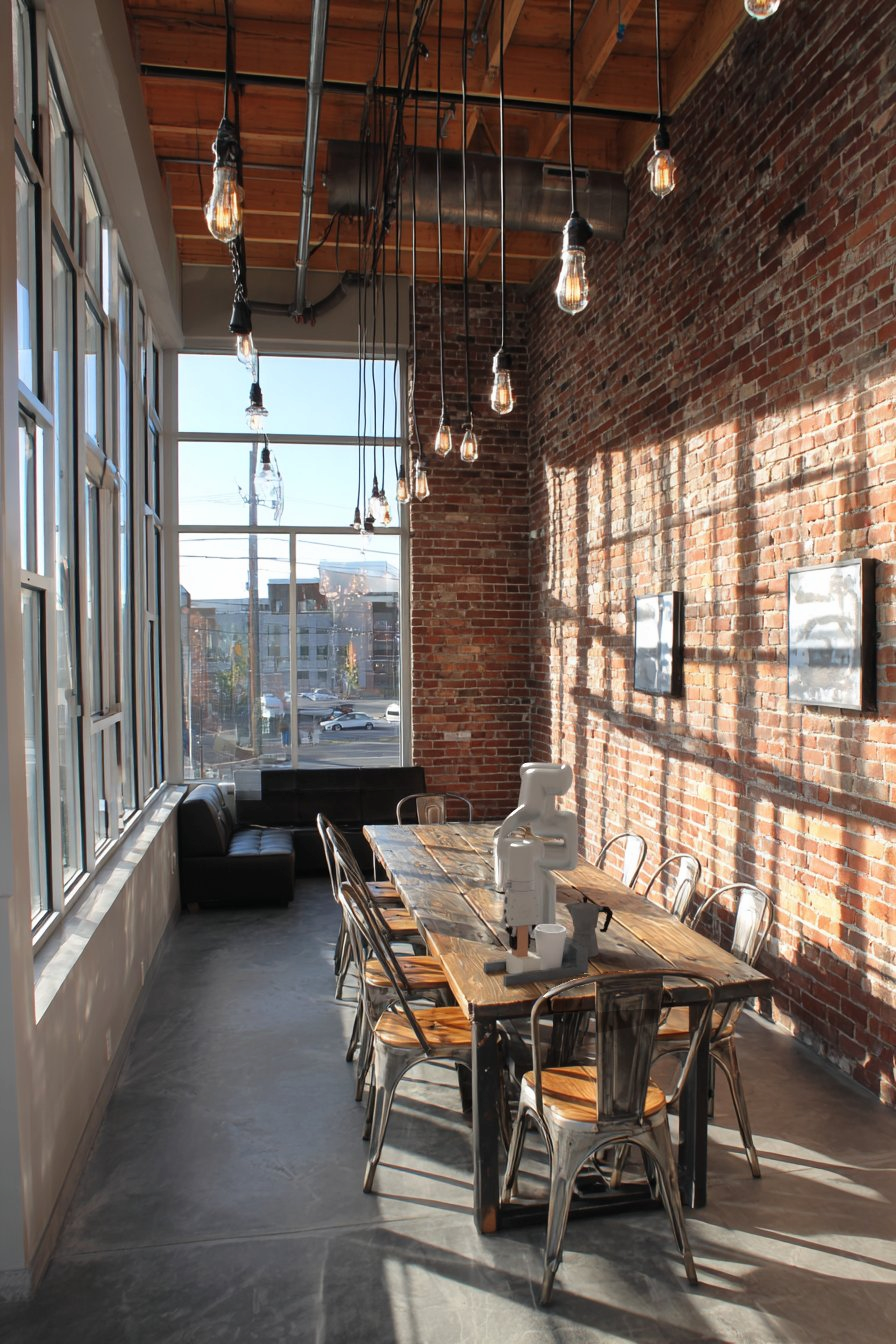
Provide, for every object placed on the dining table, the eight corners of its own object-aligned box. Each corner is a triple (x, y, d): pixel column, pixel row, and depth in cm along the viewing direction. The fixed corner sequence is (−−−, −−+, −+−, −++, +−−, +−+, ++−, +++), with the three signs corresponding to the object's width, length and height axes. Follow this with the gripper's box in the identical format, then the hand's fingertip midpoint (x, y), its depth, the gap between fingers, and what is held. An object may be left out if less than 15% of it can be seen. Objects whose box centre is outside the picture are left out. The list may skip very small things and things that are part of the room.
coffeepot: (560, 954, 298) (561, 897, 298) (567, 946, 307) (568, 891, 307) (609, 961, 293) (609, 902, 292) (615, 952, 301) (615, 896, 301)
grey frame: (483, 972, 280) (483, 945, 280) (564, 961, 292) (565, 935, 292) (505, 987, 267) (506, 959, 267) (589, 975, 279) (590, 948, 279)
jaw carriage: (504, 971, 281) (505, 912, 281) (523, 968, 283) (524, 910, 283) (521, 981, 272) (521, 920, 271) (540, 978, 274) (541, 918, 274)
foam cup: (563, 967, 286) (563, 924, 286) (568, 977, 277) (568, 932, 277) (531, 966, 286) (532, 924, 286) (535, 977, 276) (536, 932, 276)
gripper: (501, 890, 270) (500, 954, 270) (551, 885, 277) (550, 948, 277) (489, 885, 277) (488, 947, 277) (538, 880, 284) (537, 941, 284)
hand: (519, 947), depth 277 cm, fingers closed on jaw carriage, 3 cm apart
